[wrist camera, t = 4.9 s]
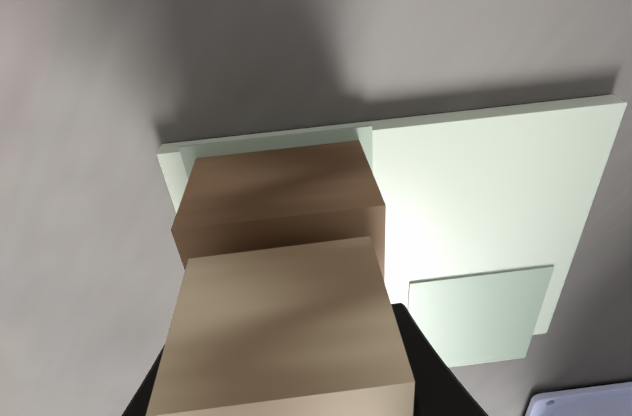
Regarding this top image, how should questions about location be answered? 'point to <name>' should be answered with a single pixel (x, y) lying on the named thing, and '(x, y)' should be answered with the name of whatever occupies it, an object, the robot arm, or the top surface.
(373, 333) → the maple block
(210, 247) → the walnut base
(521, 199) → the build plate
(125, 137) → the top surface
